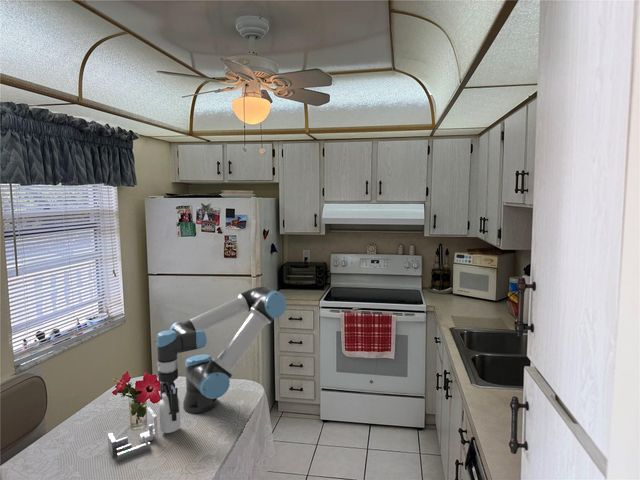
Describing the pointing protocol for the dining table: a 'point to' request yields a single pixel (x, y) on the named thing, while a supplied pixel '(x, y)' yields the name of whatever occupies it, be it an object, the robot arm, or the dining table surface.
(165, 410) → the pill bottle
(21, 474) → the dining table surface
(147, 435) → the white l-shaped bracket
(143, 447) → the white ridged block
